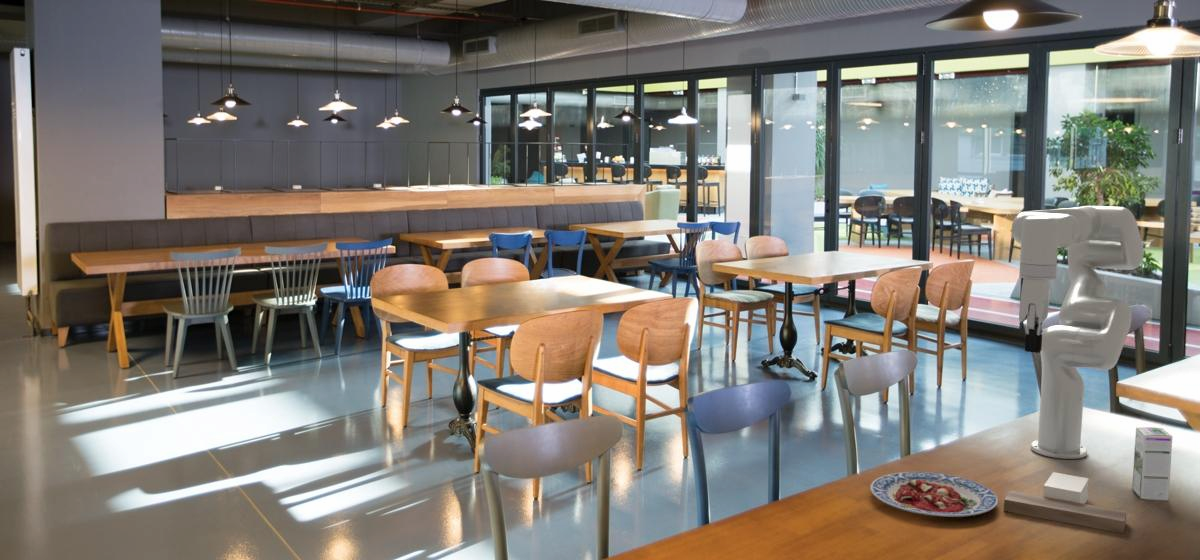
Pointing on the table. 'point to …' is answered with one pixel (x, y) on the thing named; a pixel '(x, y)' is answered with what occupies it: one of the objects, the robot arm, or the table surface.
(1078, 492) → the block
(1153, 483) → the syrup box
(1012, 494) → the plank
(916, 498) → the ceramic plate
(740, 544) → the table surface
